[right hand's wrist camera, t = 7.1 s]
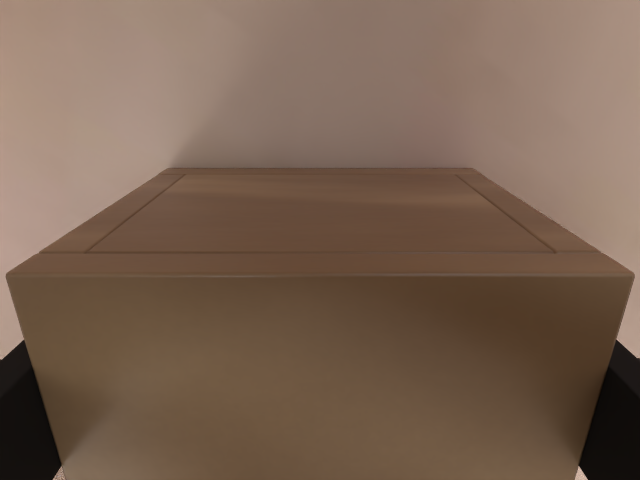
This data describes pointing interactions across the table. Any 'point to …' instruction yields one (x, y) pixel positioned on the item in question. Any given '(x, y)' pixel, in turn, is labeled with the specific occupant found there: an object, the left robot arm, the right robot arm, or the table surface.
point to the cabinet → (320, 329)
